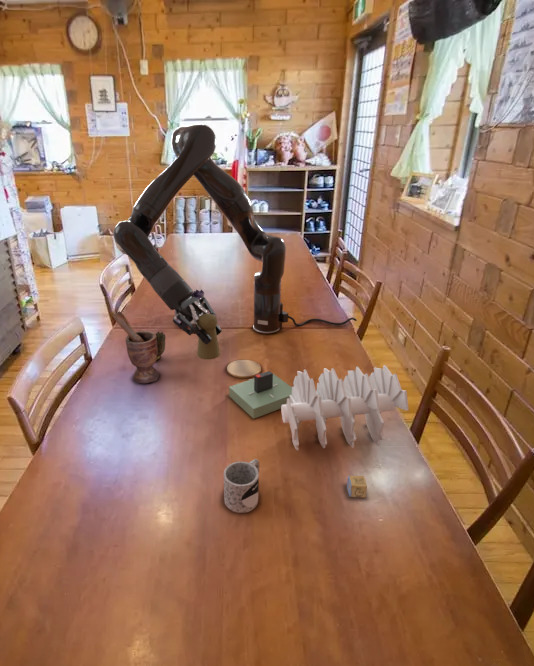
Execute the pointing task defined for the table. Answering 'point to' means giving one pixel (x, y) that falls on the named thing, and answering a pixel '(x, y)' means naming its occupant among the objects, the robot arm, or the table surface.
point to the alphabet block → (356, 486)
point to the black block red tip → (263, 381)
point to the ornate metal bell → (160, 344)
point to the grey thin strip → (241, 486)
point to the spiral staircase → (344, 401)
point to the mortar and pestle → (140, 350)
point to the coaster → (243, 368)
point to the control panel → (260, 397)
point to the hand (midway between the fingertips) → (214, 337)
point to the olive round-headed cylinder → (209, 325)
